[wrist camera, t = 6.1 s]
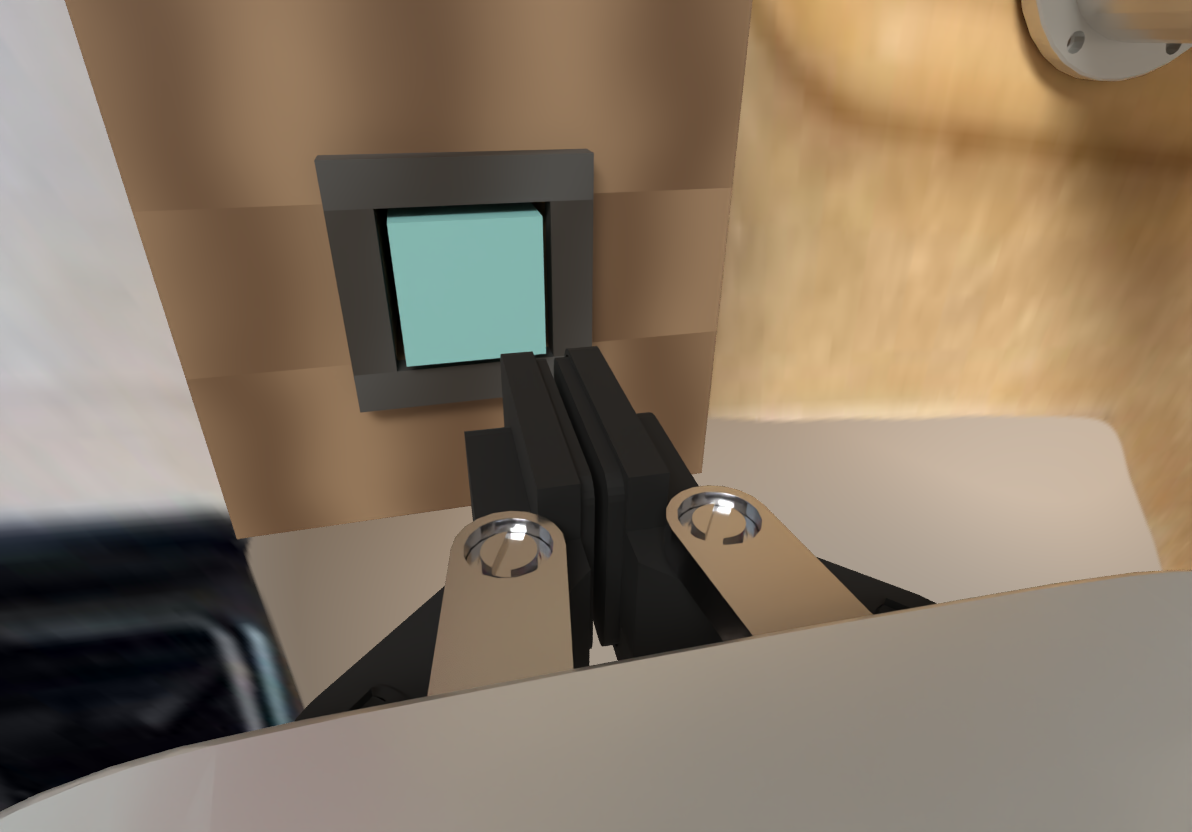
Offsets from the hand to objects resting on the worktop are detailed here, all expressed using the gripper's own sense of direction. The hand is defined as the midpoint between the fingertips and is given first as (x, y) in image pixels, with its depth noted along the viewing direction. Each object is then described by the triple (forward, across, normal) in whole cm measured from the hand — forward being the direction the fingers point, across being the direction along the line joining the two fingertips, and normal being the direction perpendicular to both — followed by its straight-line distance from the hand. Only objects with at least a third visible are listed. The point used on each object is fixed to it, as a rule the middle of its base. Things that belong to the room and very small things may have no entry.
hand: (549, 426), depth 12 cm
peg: (+18, +1, 0) cm, 18 cm away
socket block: (+18, +1, 0) cm, 18 cm away
